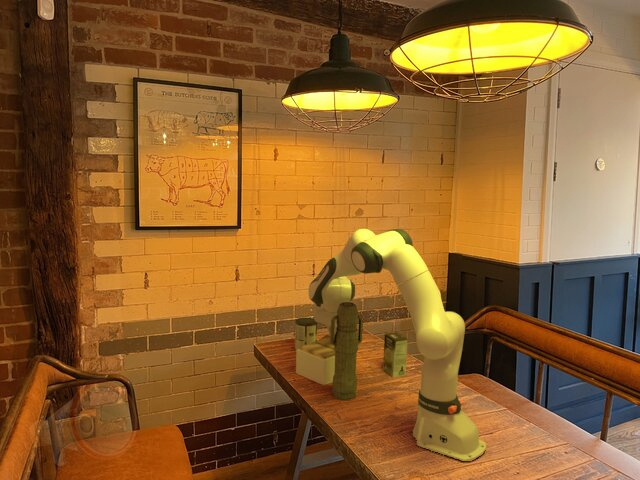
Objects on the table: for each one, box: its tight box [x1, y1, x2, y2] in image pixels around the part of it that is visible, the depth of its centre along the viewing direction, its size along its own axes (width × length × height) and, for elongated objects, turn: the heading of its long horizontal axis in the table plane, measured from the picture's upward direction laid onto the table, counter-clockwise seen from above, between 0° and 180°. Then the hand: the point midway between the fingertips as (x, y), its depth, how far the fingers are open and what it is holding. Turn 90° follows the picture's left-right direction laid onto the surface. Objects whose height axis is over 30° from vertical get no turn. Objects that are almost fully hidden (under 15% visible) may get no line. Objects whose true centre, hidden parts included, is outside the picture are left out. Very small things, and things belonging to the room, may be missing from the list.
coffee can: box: [294, 317, 318, 352], centre depth 228 cm, size 10×10×14 cm
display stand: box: [295, 349, 335, 386], centre depth 202 cm, size 16×18×10 cm
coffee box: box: [382, 331, 409, 379], centre depth 204 cm, size 9×6×16 cm
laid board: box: [300, 342, 335, 359], centre depth 198 cm, size 14×8×2 cm, turn 46°
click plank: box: [315, 334, 334, 349], centre depth 204 cm, size 14×7×1 cm, turn 46°
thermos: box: [331, 301, 364, 401], centre depth 180 cm, size 9×12×35 cm
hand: (332, 336), depth 207 cm, fingers closed
